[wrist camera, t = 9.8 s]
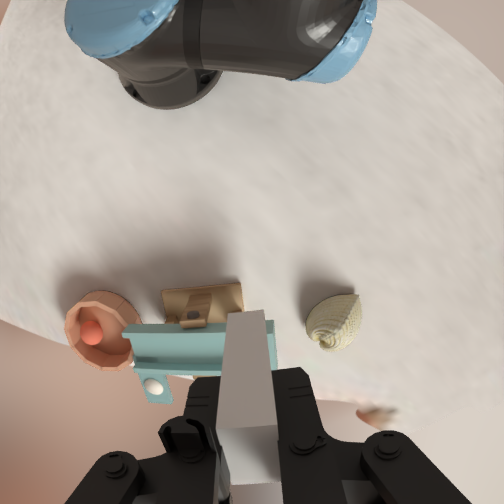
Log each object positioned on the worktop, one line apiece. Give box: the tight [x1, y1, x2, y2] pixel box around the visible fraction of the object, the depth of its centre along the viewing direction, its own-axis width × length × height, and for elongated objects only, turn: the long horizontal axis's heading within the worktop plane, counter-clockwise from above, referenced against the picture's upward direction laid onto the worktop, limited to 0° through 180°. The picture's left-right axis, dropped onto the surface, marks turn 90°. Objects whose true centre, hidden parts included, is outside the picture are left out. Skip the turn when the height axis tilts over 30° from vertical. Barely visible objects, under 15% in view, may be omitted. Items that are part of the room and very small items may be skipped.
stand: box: [161, 283, 244, 379], centre depth 44 cm, size 11×12×9 cm
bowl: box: [64, 291, 142, 371], centre depth 47 cm, size 13×13×4 cm
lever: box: [122, 320, 278, 404], centre depth 41 cm, size 14×20×3 cm
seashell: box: [306, 294, 362, 352], centre depth 47 cm, size 8×8×8 cm
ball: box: [80, 321, 103, 345], centre depth 46 cm, size 4×4×4 cm
